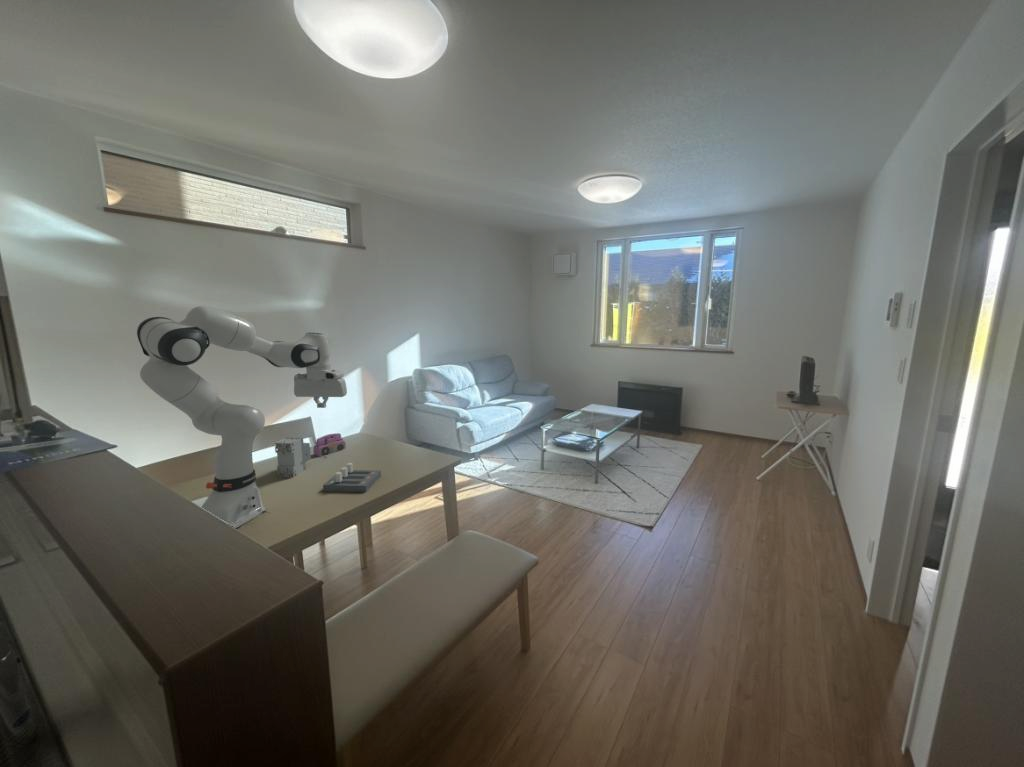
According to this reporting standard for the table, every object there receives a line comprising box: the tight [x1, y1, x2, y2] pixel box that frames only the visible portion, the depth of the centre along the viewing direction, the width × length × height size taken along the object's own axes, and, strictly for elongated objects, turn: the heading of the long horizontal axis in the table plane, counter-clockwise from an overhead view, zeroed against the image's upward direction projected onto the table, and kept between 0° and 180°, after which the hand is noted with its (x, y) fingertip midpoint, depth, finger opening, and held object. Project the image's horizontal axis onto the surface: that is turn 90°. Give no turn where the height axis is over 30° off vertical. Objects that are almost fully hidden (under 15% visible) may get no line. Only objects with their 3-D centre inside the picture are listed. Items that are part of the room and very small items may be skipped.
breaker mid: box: [340, 466, 348, 477], centre depth 167 cm, size 2×2×4 cm
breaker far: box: [345, 462, 354, 473], centre depth 172 cm, size 2×2×4 cm
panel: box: [322, 469, 382, 493], centre depth 168 cm, size 16×17×3 cm
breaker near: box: [334, 471, 342, 482], centre depth 162 cm, size 2×2×4 cm
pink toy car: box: [312, 432, 347, 458], centre depth 204 cm, size 18×6×10 cm, turn 145°
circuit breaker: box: [274, 436, 312, 478], centre depth 180 cm, size 8×14×15 cm, turn 174°
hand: (321, 407), depth 165 cm, fingers closed
